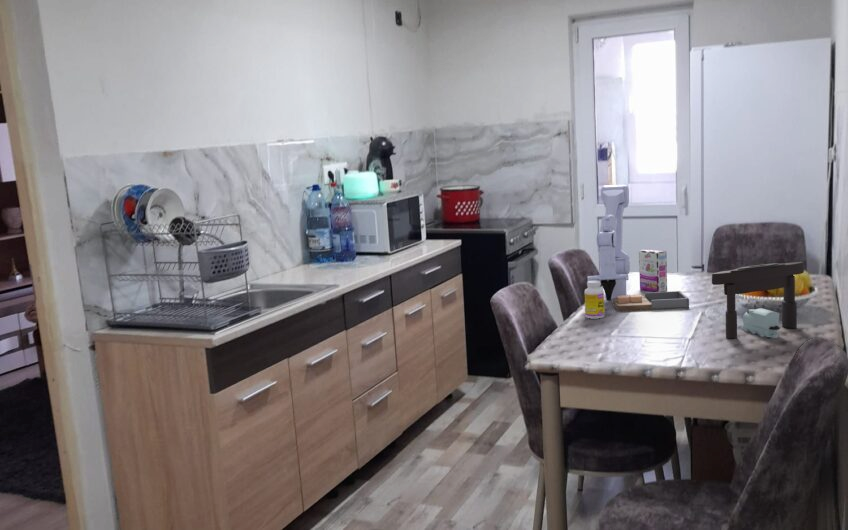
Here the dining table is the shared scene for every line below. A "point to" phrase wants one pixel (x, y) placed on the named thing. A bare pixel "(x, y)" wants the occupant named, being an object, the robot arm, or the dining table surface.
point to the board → (632, 305)
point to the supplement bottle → (594, 300)
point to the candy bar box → (653, 270)
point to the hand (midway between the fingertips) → (608, 300)
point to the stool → (753, 282)
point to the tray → (667, 300)
